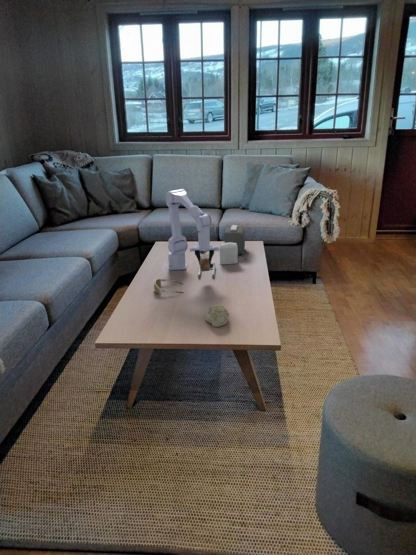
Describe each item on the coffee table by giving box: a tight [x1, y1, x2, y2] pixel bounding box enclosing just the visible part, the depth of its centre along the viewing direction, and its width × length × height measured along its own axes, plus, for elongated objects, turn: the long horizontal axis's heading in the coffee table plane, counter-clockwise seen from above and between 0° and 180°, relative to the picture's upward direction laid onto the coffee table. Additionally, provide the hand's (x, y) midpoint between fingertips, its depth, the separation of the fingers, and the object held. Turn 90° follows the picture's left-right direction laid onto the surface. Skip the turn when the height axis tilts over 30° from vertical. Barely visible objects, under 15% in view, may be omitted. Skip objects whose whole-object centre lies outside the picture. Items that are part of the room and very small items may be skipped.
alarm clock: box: [223, 224, 246, 256], centre depth 253 cm, size 16×11×16 cm
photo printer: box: [219, 242, 239, 265], centre depth 235 cm, size 10×4×12 cm, turn 98°
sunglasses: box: [153, 278, 185, 296], centre depth 207 cm, size 14×15×5 cm
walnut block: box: [199, 253, 211, 272], centre depth 211 cm, size 4×8×6 cm, turn 177°
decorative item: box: [204, 304, 230, 328], centre depth 175 cm, size 12×9×10 cm
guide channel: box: [197, 262, 216, 279], centre depth 226 cm, size 8×16×2 cm, turn 177°
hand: (205, 264), depth 212 cm, fingers closed on walnut block, 4 cm apart
